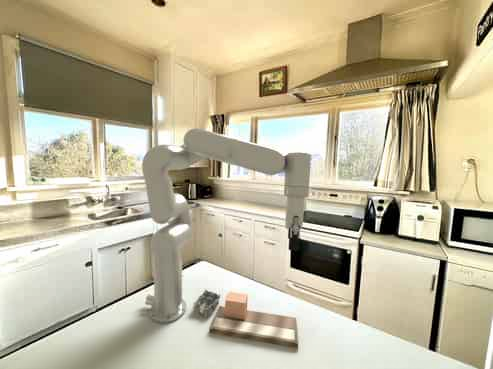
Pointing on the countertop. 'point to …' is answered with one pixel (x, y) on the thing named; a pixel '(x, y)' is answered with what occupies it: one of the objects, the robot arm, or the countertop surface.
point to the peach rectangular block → (236, 305)
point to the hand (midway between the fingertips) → (293, 244)
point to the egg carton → (209, 298)
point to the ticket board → (257, 327)
